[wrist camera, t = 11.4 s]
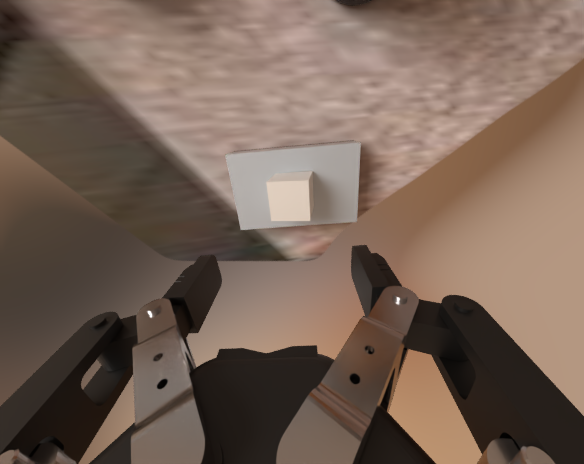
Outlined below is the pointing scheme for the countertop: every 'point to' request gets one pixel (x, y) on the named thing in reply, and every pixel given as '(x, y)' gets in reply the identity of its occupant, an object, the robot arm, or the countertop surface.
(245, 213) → the grey rectangular block
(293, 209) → the cream rectangular block
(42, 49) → the countertop surface
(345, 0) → the canister
